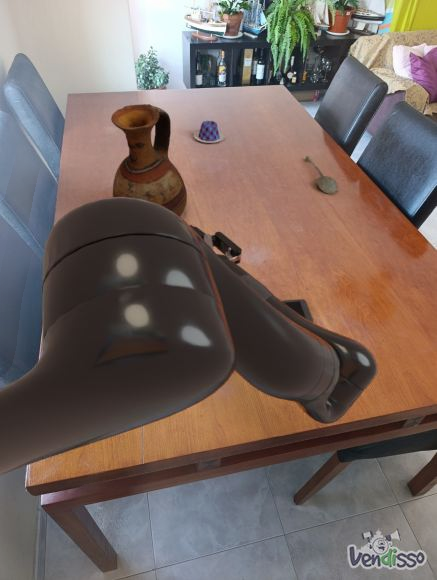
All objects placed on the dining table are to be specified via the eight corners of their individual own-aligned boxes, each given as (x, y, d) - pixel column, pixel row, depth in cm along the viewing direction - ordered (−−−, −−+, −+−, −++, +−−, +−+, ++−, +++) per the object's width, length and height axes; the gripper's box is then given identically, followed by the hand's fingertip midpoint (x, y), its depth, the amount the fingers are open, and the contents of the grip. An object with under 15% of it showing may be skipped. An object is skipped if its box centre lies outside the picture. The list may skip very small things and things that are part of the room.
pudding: (220, 146, 137) (221, 132, 133) (189, 141, 139) (189, 127, 135) (227, 132, 145) (228, 119, 141) (198, 128, 147) (198, 114, 143)
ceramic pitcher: (102, 223, 104) (77, 112, 82) (142, 188, 116) (130, 84, 94) (164, 244, 99) (154, 132, 77) (198, 205, 111) (199, 100, 89)
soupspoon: (319, 196, 119) (339, 195, 120) (323, 187, 116) (342, 186, 117) (298, 159, 133) (316, 159, 134) (301, 150, 130) (318, 150, 131)
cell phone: (314, 325, 82) (315, 323, 81) (252, 330, 80) (252, 328, 80) (304, 300, 87) (305, 298, 86) (246, 305, 85) (246, 302, 85)
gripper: (275, 256, 53) (201, 204, 61) (197, 305, 46) (126, 239, 54) (267, 292, 58) (200, 240, 66) (197, 340, 52) (132, 276, 59)
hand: (167, 240), depth 60 cm, fingers open, 8 cm apart
